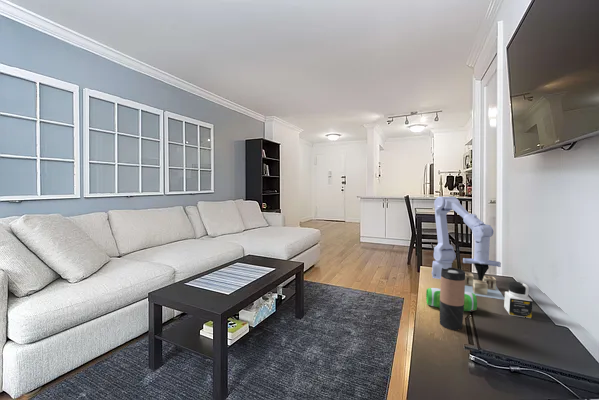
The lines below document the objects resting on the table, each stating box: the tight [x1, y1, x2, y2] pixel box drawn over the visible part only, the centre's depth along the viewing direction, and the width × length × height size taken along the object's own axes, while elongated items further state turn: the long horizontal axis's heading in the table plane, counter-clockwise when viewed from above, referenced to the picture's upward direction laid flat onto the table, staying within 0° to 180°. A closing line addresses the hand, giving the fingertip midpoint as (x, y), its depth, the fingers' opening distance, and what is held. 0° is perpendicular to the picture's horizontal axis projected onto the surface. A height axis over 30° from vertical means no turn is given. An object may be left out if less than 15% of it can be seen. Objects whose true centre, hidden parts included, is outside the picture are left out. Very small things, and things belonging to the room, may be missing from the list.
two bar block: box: [483, 275, 497, 290], centre depth 137 cm, size 5×5×5 cm
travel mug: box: [439, 267, 466, 331], centre depth 101 cm, size 8×8×20 cm
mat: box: [465, 286, 505, 300], centre depth 135 cm, size 16×20×1 cm
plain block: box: [473, 278, 488, 295], centre depth 131 cm, size 5×5×5 cm
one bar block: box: [465, 272, 475, 286], centre depth 142 cm, size 5×5×5 cm
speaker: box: [425, 287, 478, 312], centre depth 115 cm, size 18×7×8 cm, turn 72°
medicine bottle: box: [503, 281, 533, 319], centre depth 111 cm, size 7×7×12 cm
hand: (480, 280), depth 131 cm, fingers closed
